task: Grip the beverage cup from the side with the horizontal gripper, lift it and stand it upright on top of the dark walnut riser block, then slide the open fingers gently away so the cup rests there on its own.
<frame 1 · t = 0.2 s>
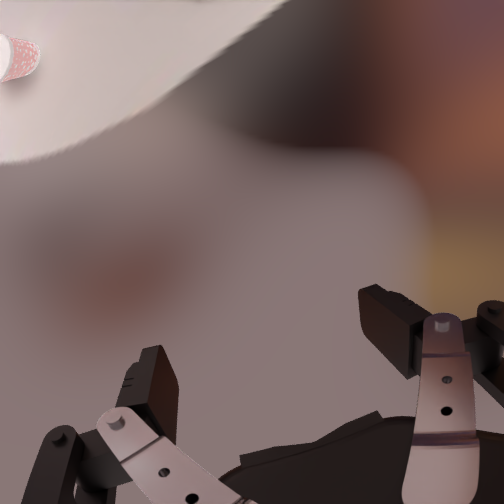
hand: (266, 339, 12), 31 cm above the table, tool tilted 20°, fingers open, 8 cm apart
beverage cup: (26, 59, 25), on the table
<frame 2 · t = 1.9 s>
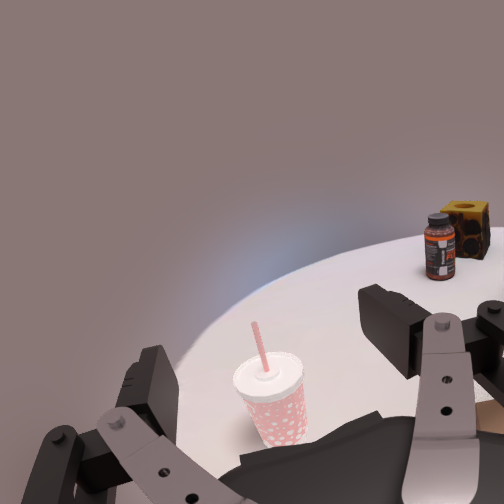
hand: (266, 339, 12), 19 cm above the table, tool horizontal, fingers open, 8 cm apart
beverage cup: (285, 436, 28), on the table
yellow tissue box cover: (467, 250, 57), on the table
supplement bottle: (440, 275, 51), on the table
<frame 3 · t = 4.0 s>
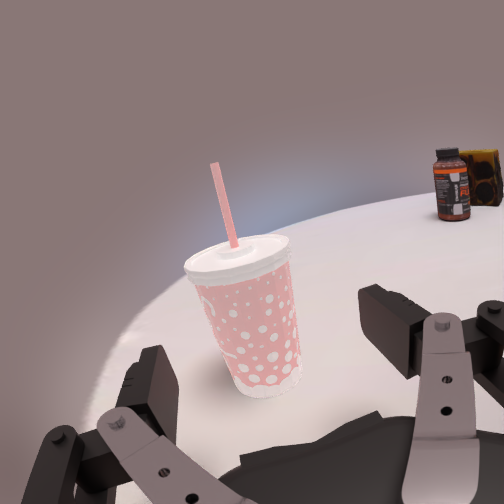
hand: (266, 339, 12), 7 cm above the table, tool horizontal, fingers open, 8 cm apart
beverage cup: (269, 377, 20), on the table
yellow tissue box cover: (480, 201, 49), on the table
supplement bottle: (454, 218, 43), on the table
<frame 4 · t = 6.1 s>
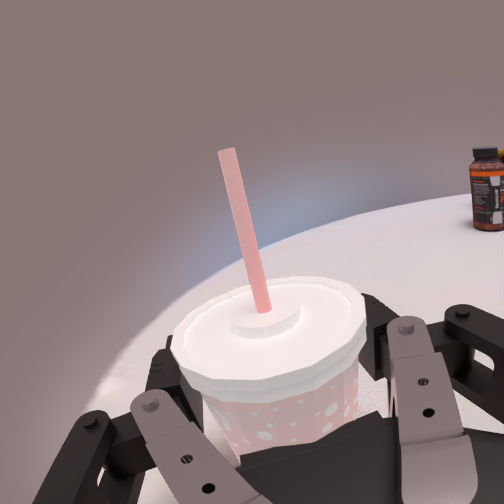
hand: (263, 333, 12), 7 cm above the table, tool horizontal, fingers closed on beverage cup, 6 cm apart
beverage cup: (304, 474, 12), on the table, touching gripper
supplement bottle: (491, 227, 35), on the table
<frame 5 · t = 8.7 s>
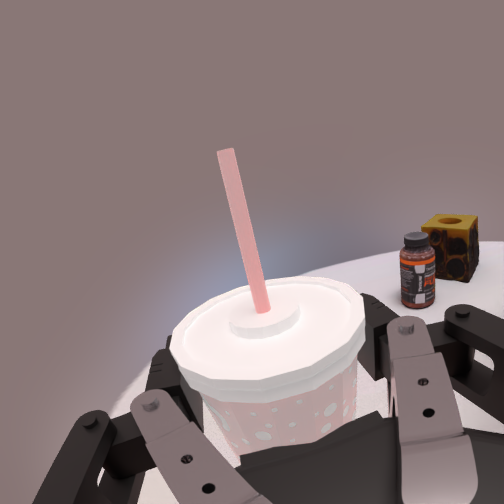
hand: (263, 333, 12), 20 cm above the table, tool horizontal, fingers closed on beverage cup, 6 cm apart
beverage cup: (303, 474, 12), point 12 cm above the table, touching gripper
yellow tissue box cover: (452, 270, 52), on the table
supplement bottle: (418, 301, 46), on the table
when the fingers open (13 cm above the table, at t = 11.7 s): beverage cup drops 1 cm, resting on walnut riser block.
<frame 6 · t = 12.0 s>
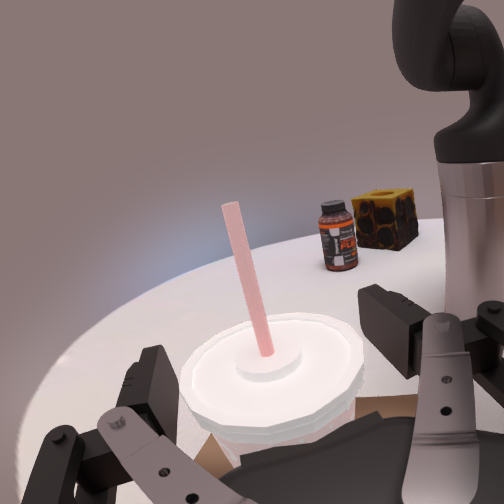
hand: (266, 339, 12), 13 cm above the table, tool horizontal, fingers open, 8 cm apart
beverage cup: (304, 491, 12), point 5 cm above the table, touching walnut riser block
yellow tissue box cover: (389, 242, 60), on the table
supplement bottle: (342, 266, 54), on the table
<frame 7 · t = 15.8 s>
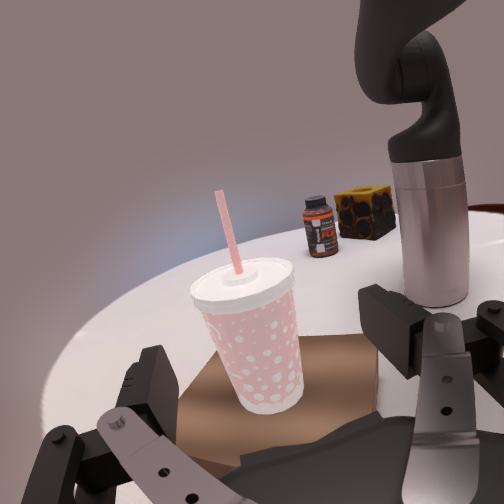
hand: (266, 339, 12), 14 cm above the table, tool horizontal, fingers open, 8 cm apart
beverage cup: (272, 393, 21), point 5 cm above the table, touching walnut riser block
walnut riser block: (285, 432, 22), on the table
yellow tissue box cover: (369, 233, 68), on the table
supplement bottle: (324, 253, 62), on the table
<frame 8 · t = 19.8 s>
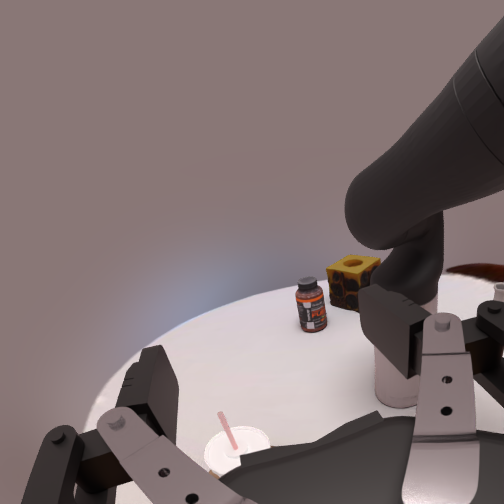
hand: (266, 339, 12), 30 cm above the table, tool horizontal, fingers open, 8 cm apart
beverage cup: (258, 493, 26), point 5 cm above the table, touching walnut riser block
yellow tissue box cover: (357, 301, 74), on the table
supplement bottle: (314, 326, 68), on the table
flask: (495, 333, 44), on the table
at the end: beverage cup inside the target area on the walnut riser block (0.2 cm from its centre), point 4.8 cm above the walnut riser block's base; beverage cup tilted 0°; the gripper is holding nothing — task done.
